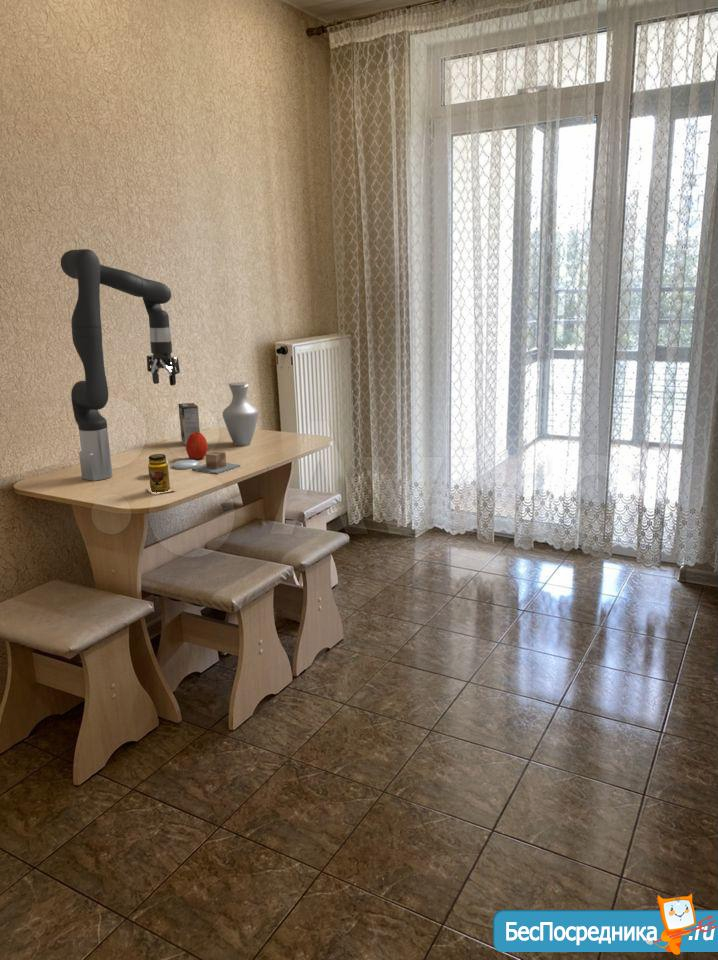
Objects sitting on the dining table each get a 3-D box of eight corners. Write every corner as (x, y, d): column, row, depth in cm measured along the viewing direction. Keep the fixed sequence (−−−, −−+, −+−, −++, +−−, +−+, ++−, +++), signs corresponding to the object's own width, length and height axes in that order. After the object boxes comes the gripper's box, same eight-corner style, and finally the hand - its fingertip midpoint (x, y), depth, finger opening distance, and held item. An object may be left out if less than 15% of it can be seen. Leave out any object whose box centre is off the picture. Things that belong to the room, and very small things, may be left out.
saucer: (186, 470, 255) (186, 467, 255) (168, 467, 259) (168, 463, 259) (204, 464, 262) (203, 461, 262) (186, 461, 267) (185, 458, 266)
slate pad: (217, 474, 249) (217, 472, 249) (192, 469, 255) (192, 468, 255) (240, 466, 259) (240, 465, 259) (215, 462, 265) (215, 460, 265)
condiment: (153, 496, 226) (150, 459, 223) (144, 489, 233) (141, 454, 229) (175, 491, 230) (172, 455, 226) (166, 485, 237) (163, 450, 233)
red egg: (203, 461, 266) (201, 433, 263) (182, 461, 268) (180, 433, 265) (212, 456, 274) (210, 429, 271) (192, 455, 276) (189, 428, 273)
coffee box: (180, 441, 299) (177, 403, 295) (196, 440, 302) (193, 402, 297) (185, 446, 291) (182, 407, 287) (201, 444, 294) (198, 405, 289)
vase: (263, 440, 299) (261, 381, 293) (254, 448, 286) (251, 386, 279) (230, 439, 301) (227, 380, 294) (219, 447, 288) (215, 386, 281)
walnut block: (216, 469, 254) (215, 455, 252) (206, 467, 256) (205, 453, 255) (226, 465, 258) (225, 452, 256) (216, 464, 260) (215, 450, 259)
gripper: (139, 340, 261) (143, 384, 266) (167, 341, 254) (170, 387, 258) (154, 338, 267) (158, 381, 272) (182, 340, 260) (185, 384, 264)
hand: (164, 384), depth 265 cm, fingers open, 8 cm apart
